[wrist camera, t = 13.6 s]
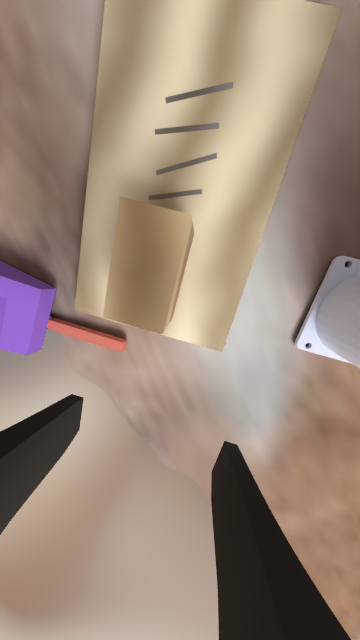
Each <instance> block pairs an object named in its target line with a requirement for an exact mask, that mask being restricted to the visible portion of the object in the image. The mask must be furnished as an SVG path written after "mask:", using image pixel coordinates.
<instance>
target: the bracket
mask: <svg viewBox="0 0 360 640" xmlns="http://www.w3.org/2000/svg"><path fill="white" fill-rule="evenodd" d="M55 292H56V288H54V287H52V286H50V285H48V284H46V283H44V282H42V281H40V280H38V279H36V278H34V277H32V276H30V275H28V274H26V273H24V272H22V271H20V270H18V269H16V268H14V267H12V266H10V265H8V264H6V263H4V262H2V261H0V349H1V350H6V351H10V352H15V353H19V354H24V355H29V354H31V353H33V352H36V351H38V350H41V349H42V345H43V341H44V337H45V333H46V329H47V325H48V319H49V317H50V313H51V309H52V304H53V300H54V296H55Z"/></svg>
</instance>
